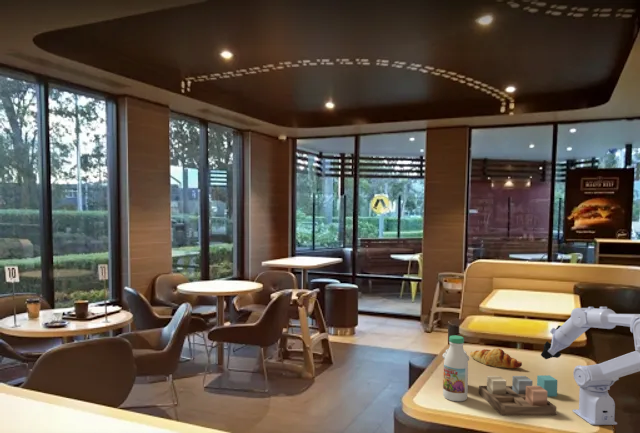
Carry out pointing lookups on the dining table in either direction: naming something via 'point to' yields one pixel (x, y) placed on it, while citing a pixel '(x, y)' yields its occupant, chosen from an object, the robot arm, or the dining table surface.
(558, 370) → the dining table surface
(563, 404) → the dining table surface
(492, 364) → the croissant
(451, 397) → the milk bottle
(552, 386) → the teal block
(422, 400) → the dining table surface
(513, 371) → the dining table surface
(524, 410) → the puzzle board
